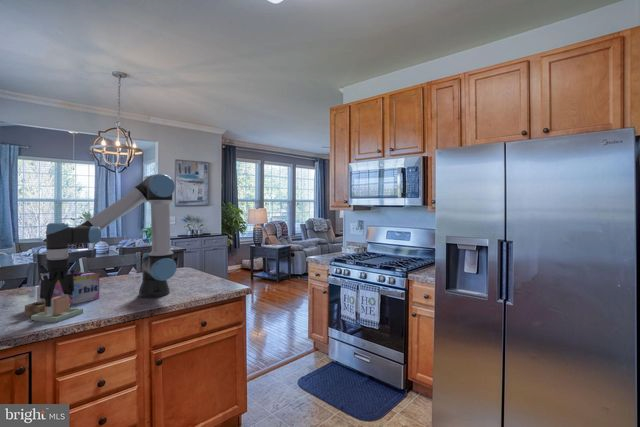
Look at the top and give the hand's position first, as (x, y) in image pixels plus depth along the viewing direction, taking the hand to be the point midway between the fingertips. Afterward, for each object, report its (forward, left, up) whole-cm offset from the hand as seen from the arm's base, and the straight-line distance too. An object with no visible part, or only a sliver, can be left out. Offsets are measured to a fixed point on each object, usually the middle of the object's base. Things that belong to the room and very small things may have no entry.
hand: (57, 311), depth 143 cm
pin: (+11, -2, -2) cm, 11 cm away
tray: (0, 0, -2) cm, 2 cm away
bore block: (+11, -2, -2) cm, 11 cm away
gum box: (+14, -19, -3) cm, 24 cm away
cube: (0, 0, 0) cm, 0 cm away
